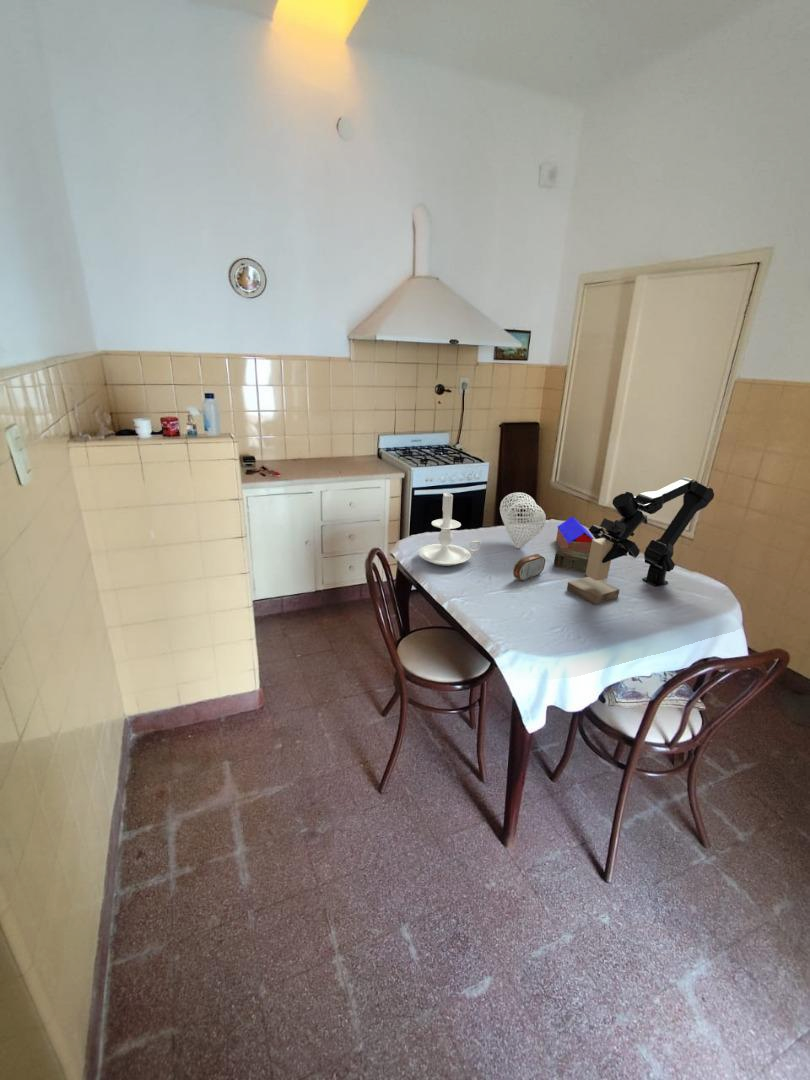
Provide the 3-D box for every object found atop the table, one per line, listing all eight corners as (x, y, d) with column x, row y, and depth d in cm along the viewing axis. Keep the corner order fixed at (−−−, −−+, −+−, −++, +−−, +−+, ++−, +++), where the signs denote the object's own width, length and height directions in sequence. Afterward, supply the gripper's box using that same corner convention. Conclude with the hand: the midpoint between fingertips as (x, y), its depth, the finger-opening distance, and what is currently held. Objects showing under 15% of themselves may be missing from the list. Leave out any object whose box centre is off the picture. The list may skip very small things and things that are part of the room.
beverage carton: (604, 577, 184) (607, 561, 182) (552, 567, 192) (554, 552, 189) (606, 569, 191) (609, 554, 189) (555, 560, 198) (557, 545, 196)
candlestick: (485, 571, 186) (492, 500, 176) (420, 571, 185) (423, 500, 174) (475, 550, 205) (480, 485, 195) (416, 550, 204) (418, 485, 193)
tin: (538, 571, 188) (541, 550, 185) (545, 574, 185) (548, 553, 182) (511, 580, 179) (513, 559, 176) (518, 584, 177) (520, 562, 174)
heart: (493, 535, 222) (498, 488, 214) (528, 536, 222) (533, 489, 214) (506, 560, 196) (512, 507, 188) (544, 561, 196) (552, 508, 188)
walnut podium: (590, 583, 179) (591, 575, 178) (618, 597, 169) (619, 589, 168) (566, 589, 173) (568, 582, 172) (594, 604, 164) (595, 596, 163)
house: (565, 558, 200) (570, 531, 196) (555, 540, 219) (558, 515, 215) (595, 559, 200) (600, 533, 196) (582, 541, 218) (586, 517, 214)
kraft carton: (596, 572, 172) (603, 537, 166) (607, 578, 167) (614, 543, 162) (585, 574, 170) (592, 539, 165) (595, 580, 166) (602, 545, 160)
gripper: (597, 502, 169) (567, 536, 169) (640, 519, 153) (607, 556, 153) (610, 521, 175) (581, 554, 175) (653, 539, 159) (621, 575, 159)
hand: (596, 559), depth 165 cm, fingers closed on kraft carton, 5 cm apart
